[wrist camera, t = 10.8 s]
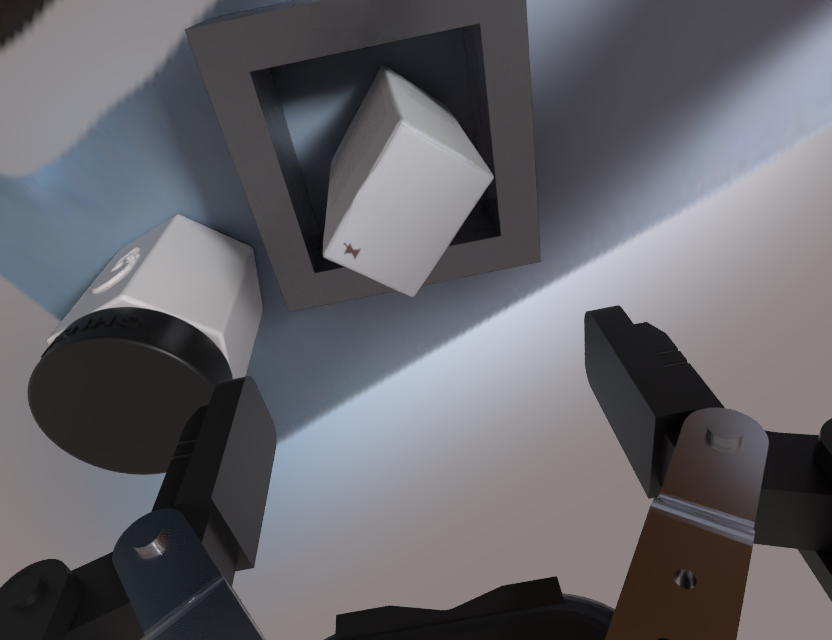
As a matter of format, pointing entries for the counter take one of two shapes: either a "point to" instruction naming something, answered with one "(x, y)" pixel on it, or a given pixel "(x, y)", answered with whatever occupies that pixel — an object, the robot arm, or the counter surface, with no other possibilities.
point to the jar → (148, 347)
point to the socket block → (276, 159)
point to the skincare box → (400, 185)
